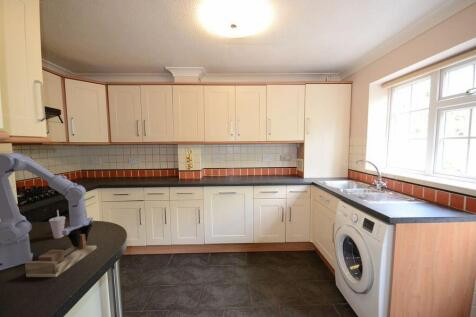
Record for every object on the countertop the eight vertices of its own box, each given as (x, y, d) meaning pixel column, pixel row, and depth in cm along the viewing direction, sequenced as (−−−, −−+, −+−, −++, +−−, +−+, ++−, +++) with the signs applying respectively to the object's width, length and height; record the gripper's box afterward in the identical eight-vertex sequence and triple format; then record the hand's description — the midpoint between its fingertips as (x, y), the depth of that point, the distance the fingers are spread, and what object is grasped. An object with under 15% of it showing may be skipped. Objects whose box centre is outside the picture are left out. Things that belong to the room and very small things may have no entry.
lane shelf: (56, 277, 73) (54, 263, 73) (26, 276, 74) (24, 262, 73) (96, 248, 93) (95, 237, 93) (73, 248, 93) (72, 237, 93)
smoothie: (59, 239, 102) (57, 212, 101) (46, 239, 102) (44, 212, 101) (70, 233, 108) (68, 208, 107) (58, 234, 109) (56, 208, 107)
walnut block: (52, 270, 75) (51, 254, 75) (39, 269, 75) (38, 254, 75) (87, 246, 92) (86, 233, 91) (76, 246, 92) (75, 233, 91)
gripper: (72, 219, 82) (75, 252, 83) (98, 208, 97) (100, 236, 98) (55, 220, 83) (58, 252, 84) (84, 208, 97) (86, 236, 98)
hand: (80, 243), depth 91 cm, fingers open, 4 cm apart
